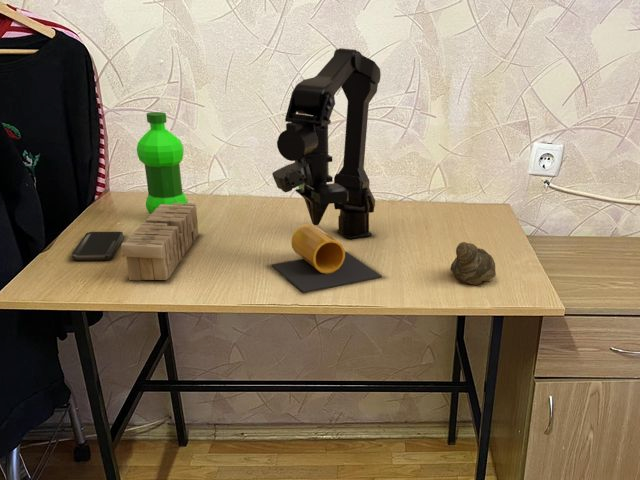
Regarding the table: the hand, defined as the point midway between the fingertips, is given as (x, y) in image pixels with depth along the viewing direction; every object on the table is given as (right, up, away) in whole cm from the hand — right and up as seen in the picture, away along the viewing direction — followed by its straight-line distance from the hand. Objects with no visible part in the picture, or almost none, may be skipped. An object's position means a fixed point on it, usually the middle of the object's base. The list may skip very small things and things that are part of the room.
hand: (315, 224), depth 151 cm
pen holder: (-3, -3, +5) cm, 7 cm away
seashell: (+35, -11, +3) cm, 37 cm away
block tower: (-33, -7, +3) cm, 34 cm away
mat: (+2, -10, +1) cm, 10 cm away
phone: (-48, -4, +5) cm, 49 cm away
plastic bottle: (-40, +6, +25) cm, 48 cm away
